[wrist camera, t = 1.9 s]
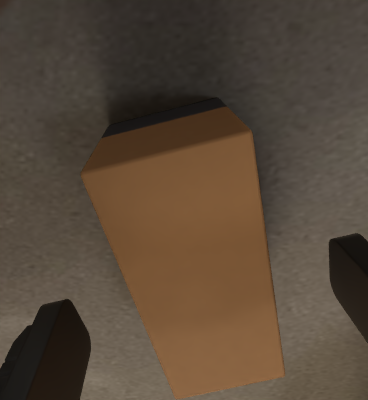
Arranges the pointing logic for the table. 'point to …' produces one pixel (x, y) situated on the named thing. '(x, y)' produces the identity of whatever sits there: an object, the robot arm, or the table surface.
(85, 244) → the table surface
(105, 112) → the table surface
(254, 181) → the eraser
